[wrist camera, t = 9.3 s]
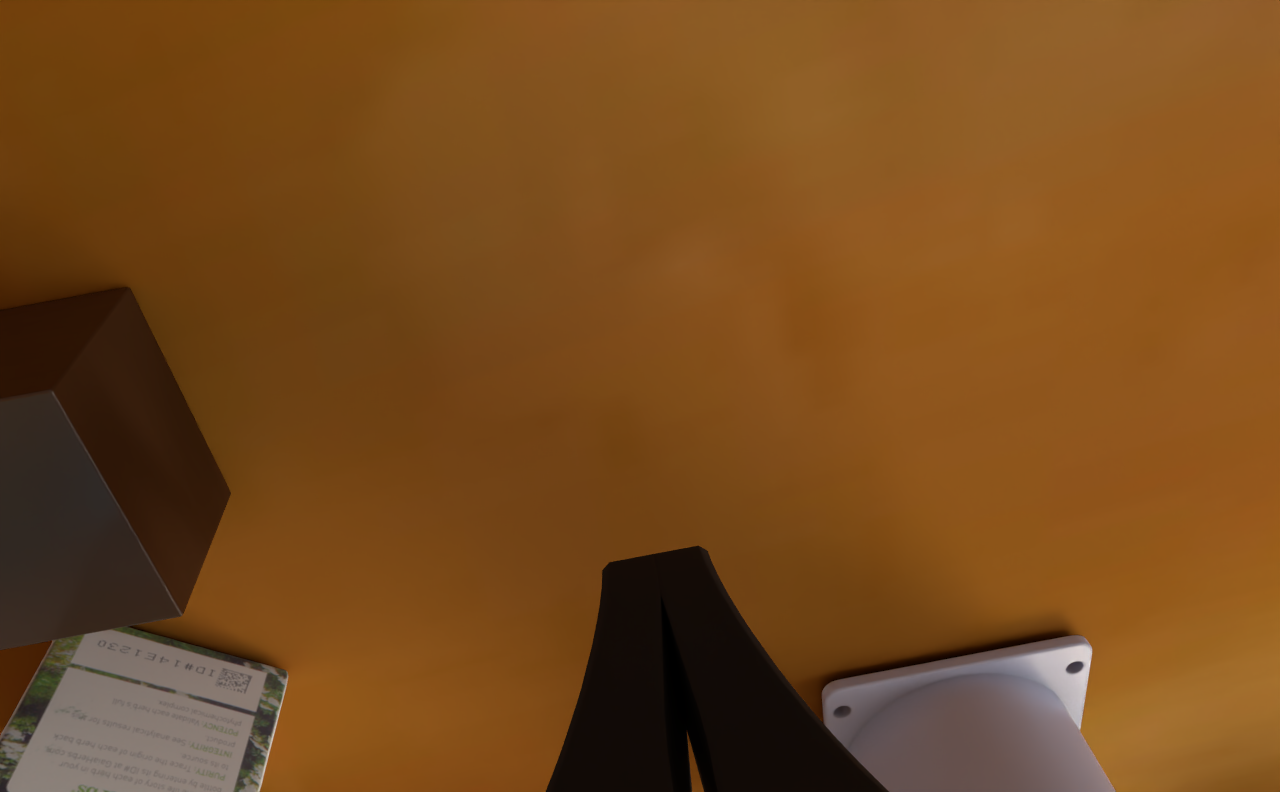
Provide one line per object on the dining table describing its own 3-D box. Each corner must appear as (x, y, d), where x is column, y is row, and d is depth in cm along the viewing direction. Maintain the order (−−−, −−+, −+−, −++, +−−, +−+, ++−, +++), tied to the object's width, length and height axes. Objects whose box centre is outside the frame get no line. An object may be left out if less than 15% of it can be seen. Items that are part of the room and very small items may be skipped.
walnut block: (231, 493, 23) (183, 617, 19) (0, 536, 23) (-89, 668, 19) (129, 285, 20) (51, 390, 16) (-137, 334, 20) (-271, 449, 16)
